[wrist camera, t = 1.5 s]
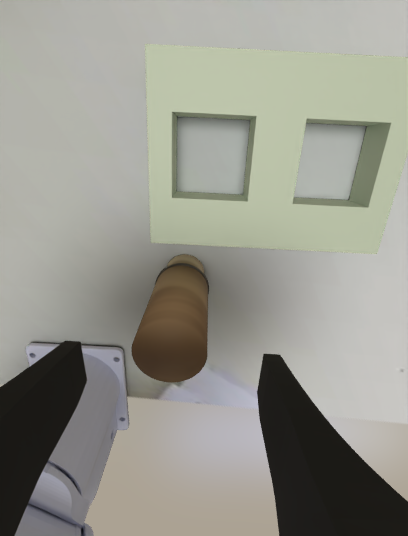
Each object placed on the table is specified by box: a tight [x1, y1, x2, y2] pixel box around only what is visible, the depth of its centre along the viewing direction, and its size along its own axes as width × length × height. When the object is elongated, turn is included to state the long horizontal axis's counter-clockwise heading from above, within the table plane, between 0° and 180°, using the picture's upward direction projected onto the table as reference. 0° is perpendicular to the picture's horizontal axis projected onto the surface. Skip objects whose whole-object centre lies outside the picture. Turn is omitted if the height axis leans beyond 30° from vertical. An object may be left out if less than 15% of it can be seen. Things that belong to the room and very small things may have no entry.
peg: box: [132, 254, 209, 382], centre depth 17 cm, size 4×4×9 cm
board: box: [145, 44, 408, 254], centre depth 17 cm, size 10×14×2 cm
